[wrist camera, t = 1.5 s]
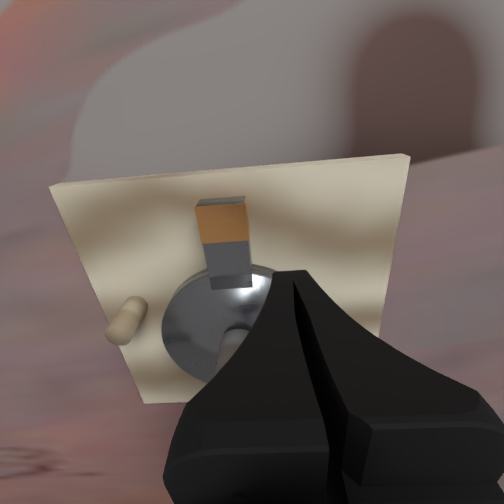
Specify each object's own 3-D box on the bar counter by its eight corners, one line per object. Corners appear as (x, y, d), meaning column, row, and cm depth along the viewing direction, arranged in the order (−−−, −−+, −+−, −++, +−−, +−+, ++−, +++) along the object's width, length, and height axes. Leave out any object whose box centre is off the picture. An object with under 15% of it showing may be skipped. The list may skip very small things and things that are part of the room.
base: (363, 385, 25) (393, 464, 19) (148, 393, 26) (119, 470, 20) (401, 153, 15) (481, 181, 10) (59, 182, 16) (-38, 222, 11)
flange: (313, 371, 21) (316, 387, 20) (183, 377, 21) (179, 392, 20) (318, 189, 14) (324, 197, 13) (130, 204, 15) (119, 212, 14)
